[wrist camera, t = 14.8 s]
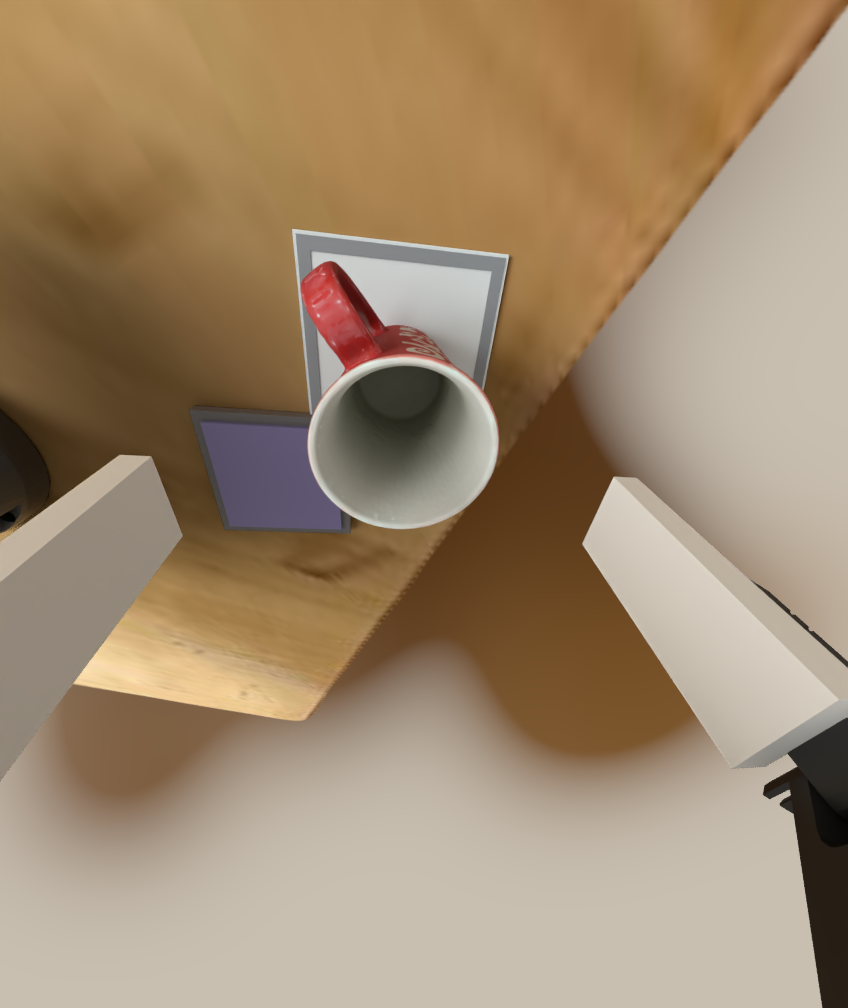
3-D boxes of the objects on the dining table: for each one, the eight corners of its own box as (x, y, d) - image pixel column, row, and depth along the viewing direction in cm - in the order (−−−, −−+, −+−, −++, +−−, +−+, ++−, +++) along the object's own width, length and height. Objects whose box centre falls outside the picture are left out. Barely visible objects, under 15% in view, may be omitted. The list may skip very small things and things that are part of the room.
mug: (474, 403, 29) (522, 492, 18) (377, 446, 31) (367, 552, 20) (409, 226, 22) (423, 194, 11) (288, 294, 24) (196, 325, 13)
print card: (312, 435, 30) (312, 437, 30) (293, 229, 22) (291, 228, 22) (472, 444, 31) (473, 446, 31) (507, 254, 24) (509, 254, 23)
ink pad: (228, 523, 35) (223, 532, 34) (194, 405, 28) (186, 411, 27) (351, 527, 36) (349, 535, 35) (347, 415, 29) (345, 421, 28)
